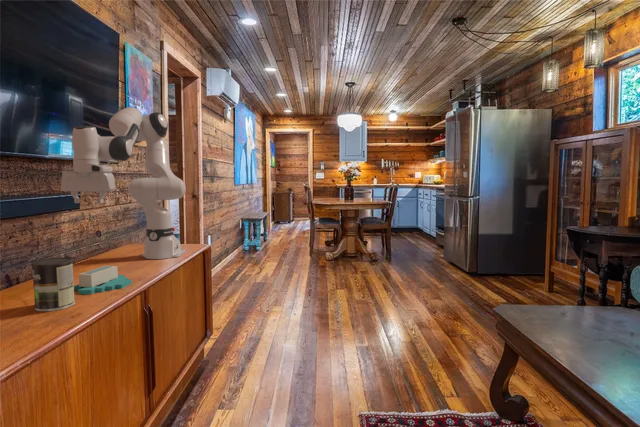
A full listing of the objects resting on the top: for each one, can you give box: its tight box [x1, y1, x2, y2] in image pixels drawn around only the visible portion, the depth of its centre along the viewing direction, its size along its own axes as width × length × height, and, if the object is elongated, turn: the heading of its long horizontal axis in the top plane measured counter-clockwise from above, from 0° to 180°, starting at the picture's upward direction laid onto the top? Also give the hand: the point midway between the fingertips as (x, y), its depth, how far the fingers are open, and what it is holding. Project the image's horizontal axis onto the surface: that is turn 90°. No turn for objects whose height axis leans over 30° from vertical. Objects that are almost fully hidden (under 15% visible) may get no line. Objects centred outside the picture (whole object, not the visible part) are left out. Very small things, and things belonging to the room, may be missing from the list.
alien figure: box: [74, 274, 133, 295], centre depth 139 cm, size 20×2×20 cm
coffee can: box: [30, 256, 76, 312], centre depth 117 cm, size 10×10×14 cm
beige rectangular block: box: [78, 265, 119, 287], centre depth 139 cm, size 13×5×5 cm, turn 170°
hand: (89, 203), depth 150 cm, fingers open, 8 cm apart
